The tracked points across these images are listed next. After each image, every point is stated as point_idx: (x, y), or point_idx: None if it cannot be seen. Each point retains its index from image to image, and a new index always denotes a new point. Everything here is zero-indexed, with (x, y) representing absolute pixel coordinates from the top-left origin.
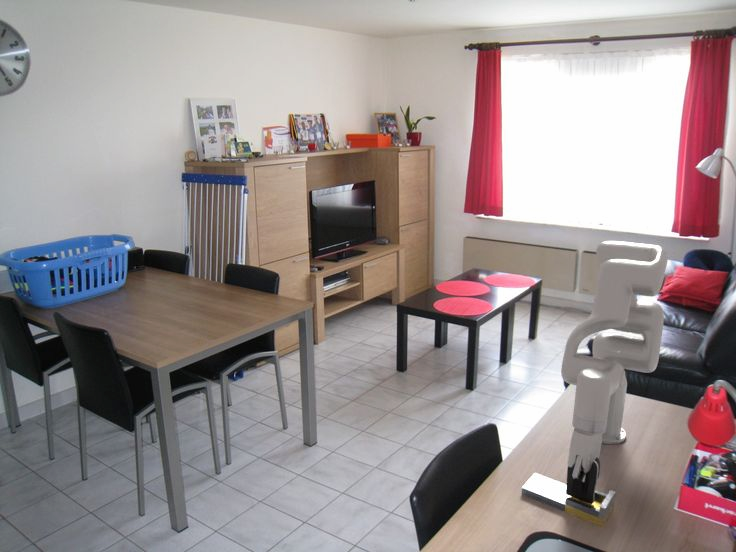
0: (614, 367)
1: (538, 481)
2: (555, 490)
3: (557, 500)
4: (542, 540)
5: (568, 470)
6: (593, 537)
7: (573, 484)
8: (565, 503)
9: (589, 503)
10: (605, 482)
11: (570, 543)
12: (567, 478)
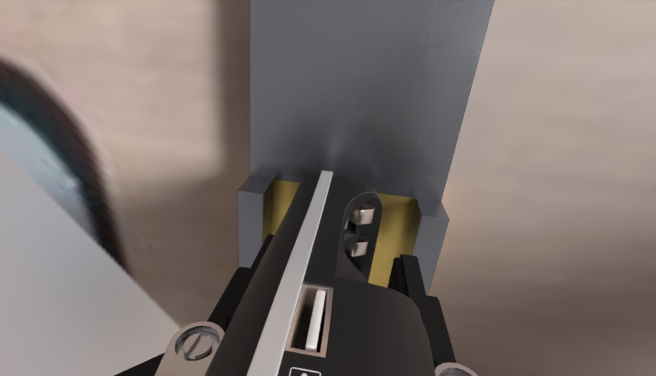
0: None
1: None
2: (353, 91)
3: (258, 129)
4: (9, 121)
5: (243, 297)
6: (181, 283)
7: (249, 274)
8: (259, 174)
9: None
10: (620, 284)
11: (87, 221)
12: (276, 234)
